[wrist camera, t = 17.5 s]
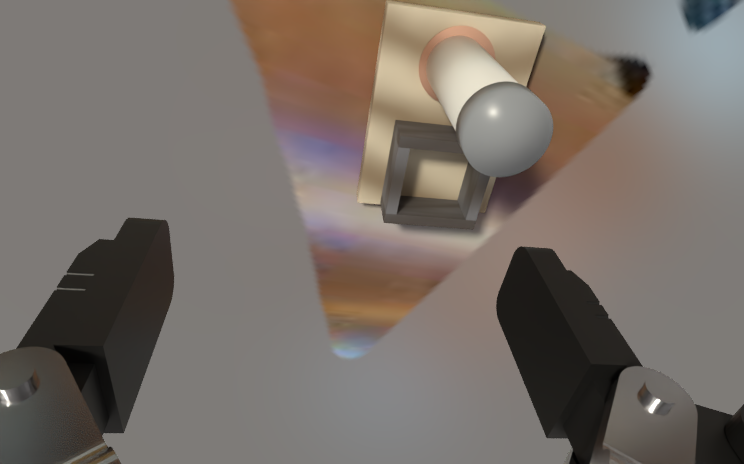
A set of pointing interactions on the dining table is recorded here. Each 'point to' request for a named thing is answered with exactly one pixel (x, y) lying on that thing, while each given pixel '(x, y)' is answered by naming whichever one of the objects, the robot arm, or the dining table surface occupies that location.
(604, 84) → the dining table surface
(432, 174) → the socket board
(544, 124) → the cylinder
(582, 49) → the dining table surface
